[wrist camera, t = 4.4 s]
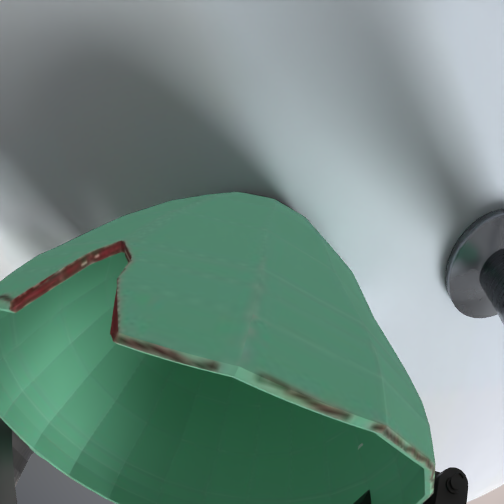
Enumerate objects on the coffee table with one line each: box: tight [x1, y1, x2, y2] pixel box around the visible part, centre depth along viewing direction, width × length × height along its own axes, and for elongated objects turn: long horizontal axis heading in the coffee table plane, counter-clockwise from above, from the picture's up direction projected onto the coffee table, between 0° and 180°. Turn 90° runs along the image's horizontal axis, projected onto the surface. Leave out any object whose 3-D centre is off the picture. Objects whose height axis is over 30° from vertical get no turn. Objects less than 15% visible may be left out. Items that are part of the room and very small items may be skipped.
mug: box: [0, 192, 435, 504], centre depth 10 cm, size 15×10×10 cm
